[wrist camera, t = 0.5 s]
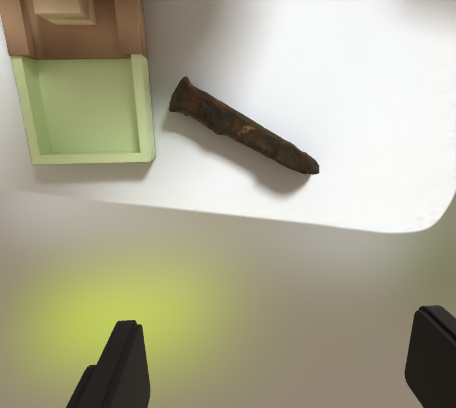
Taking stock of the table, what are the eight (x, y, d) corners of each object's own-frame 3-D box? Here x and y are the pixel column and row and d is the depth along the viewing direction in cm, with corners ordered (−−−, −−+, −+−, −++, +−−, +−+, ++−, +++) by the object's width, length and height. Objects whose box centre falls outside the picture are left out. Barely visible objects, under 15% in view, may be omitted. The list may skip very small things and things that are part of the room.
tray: (29, 61, 34) (10, 56, 31) (147, 59, 35) (140, 54, 32) (47, 160, 37) (32, 164, 34) (155, 157, 38) (150, 161, 35)
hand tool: (169, 108, 37) (162, 108, 32) (185, 76, 36) (180, 72, 31) (300, 187, 40) (310, 197, 35) (318, 160, 39) (331, 167, 34)
